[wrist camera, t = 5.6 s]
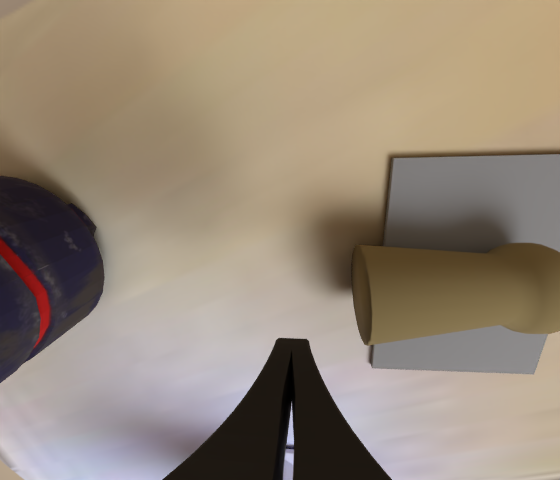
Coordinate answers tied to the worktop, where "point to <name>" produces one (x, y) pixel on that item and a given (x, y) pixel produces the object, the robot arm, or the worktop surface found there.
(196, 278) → the worktop surface
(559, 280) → the cork
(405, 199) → the mat
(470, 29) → the worktop surface
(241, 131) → the worktop surface
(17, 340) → the grenade
